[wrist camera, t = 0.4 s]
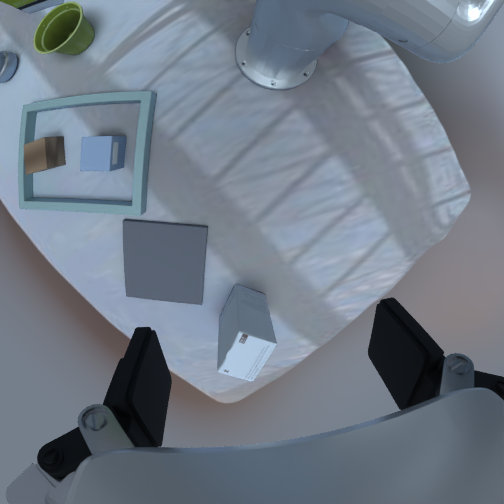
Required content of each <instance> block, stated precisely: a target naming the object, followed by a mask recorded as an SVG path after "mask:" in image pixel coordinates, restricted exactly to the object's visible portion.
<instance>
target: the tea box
mask: <svg viewBox="0 0 504 504" xmlns="http://www.w3.org/2000/svg"><path fill="white" fill-rule="evenodd" d="M0 1H1V2H4V3H6V4H9V5H11V6H13V7H15V8H17V9H20V10H22V11H24V12H27V13H32V12H35V11H38V10H42V9H45V8H48V7H51V6H55V5H58V4H61V3H63V1H64V0H0Z"/></svg>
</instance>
